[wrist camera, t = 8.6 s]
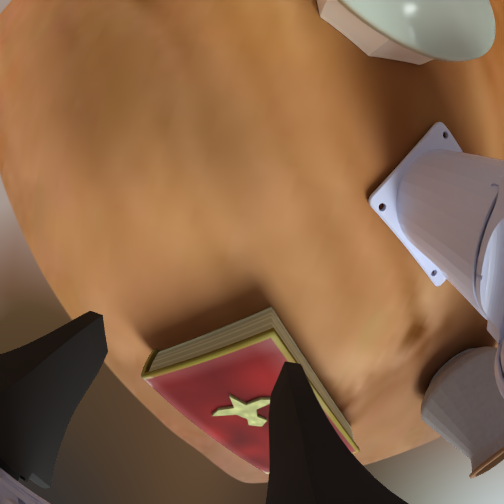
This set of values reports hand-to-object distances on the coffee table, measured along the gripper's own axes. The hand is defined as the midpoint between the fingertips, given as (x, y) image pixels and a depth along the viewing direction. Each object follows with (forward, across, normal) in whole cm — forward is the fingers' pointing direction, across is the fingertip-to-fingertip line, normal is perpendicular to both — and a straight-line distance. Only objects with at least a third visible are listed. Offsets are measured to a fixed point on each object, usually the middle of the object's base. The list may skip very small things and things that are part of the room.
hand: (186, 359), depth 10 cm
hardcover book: (+10, -6, +14) cm, 19 cm away
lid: (+5, -6, -20) cm, 22 cm away
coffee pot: (+10, -31, +6) cm, 33 cm away
